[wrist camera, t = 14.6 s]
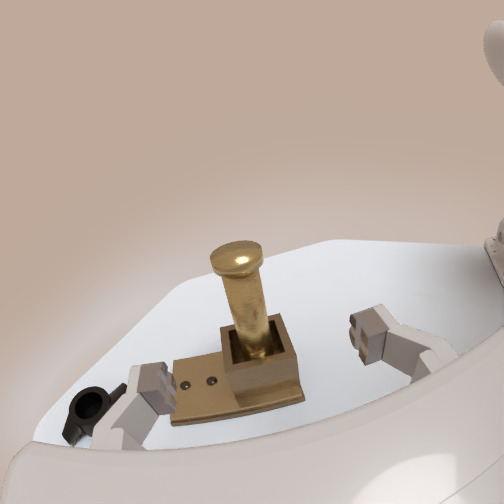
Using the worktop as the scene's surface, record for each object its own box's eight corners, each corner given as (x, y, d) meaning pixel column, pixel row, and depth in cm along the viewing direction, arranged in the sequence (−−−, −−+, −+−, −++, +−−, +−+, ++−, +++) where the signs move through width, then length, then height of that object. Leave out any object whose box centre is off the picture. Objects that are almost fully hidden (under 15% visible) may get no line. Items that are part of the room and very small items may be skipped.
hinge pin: (249, 355, 30) (221, 241, 24) (285, 357, 29) (266, 239, 23) (239, 382, 27) (201, 265, 21) (277, 386, 26) (253, 265, 19)
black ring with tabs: (141, 435, 23) (128, 422, 22) (69, 450, 20) (54, 437, 19) (133, 386, 30) (123, 371, 28) (70, 403, 27) (58, 389, 26)
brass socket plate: (175, 366, 32) (158, 332, 29) (284, 342, 33) (278, 305, 30) (172, 426, 24) (148, 395, 21) (305, 400, 25) (301, 365, 22)
